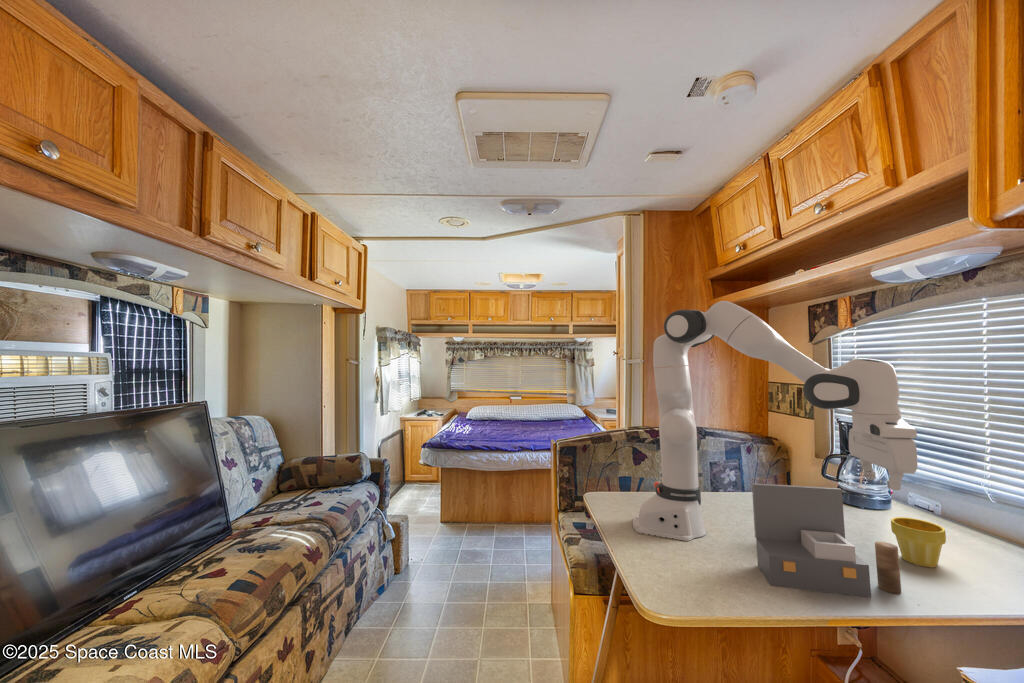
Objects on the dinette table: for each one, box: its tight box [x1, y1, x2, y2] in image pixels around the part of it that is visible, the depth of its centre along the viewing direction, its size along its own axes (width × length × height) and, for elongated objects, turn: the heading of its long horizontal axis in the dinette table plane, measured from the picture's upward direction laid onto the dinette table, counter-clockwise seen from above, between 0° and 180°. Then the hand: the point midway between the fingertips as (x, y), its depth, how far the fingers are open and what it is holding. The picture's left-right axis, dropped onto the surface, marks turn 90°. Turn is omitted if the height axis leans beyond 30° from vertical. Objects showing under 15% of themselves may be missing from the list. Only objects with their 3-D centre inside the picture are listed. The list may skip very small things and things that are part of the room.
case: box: [751, 482, 872, 598], centre depth 99 cm, size 20×12×21 cm, turn 74°
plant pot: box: [890, 516, 947, 568], centre depth 107 cm, size 10×10×10 cm
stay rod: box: [874, 541, 902, 595], centre depth 94 cm, size 4×4×10 cm
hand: (881, 483), depth 96 cm, fingers open, 8 cm apart
